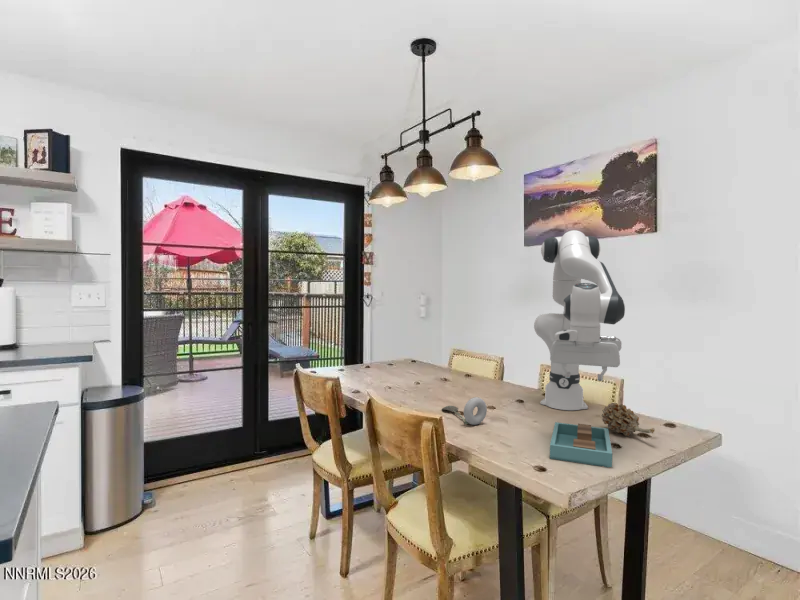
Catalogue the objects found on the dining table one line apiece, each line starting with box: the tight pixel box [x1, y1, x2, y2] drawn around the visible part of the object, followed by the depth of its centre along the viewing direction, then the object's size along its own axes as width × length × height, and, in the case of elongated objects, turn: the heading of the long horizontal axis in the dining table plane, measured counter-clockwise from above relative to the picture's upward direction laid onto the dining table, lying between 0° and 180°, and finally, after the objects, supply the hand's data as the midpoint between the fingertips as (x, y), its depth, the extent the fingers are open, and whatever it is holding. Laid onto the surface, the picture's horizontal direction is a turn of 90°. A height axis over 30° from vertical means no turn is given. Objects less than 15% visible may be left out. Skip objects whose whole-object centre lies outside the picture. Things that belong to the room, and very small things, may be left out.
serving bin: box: [549, 421, 613, 468], centre depth 139 cm, size 24×16×4 cm
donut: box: [463, 396, 488, 426], centre depth 162 cm, size 10×4×10 cm, turn 122°
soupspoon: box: [441, 405, 470, 425], centre depth 173 cm, size 22×3×7 cm
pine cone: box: [601, 402, 656, 437], centre depth 152 cm, size 22×10×10 cm, turn 21°
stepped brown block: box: [573, 423, 596, 450], centre depth 138 cm, size 17×6×5 cm, turn 158°
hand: (583, 379), depth 141 cm, fingers open, 8 cm apart
